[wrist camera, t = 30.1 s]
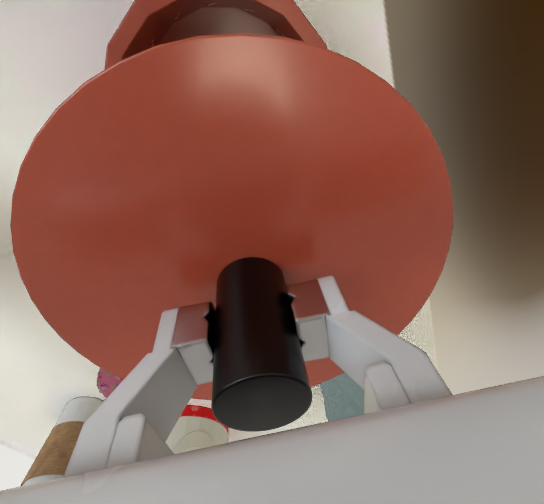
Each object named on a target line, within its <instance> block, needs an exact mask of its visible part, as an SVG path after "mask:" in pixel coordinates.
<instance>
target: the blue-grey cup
mask: <svg viewBox="0 0 544 504" xmlns="http://www.w3.org/2000/svg"><path fill="white" fill-rule="evenodd" d="M321 388H322V394H323V397H324V405H325V411H326V418H327V419H328V422H329V421H333V420H338V419H343V418H348V417H352V416H357V415H362V414H364V395H365V390H364V389H363V388H362V387H360V386H359V385H358V384H357V383H356V382H355V381H354V380H353V379H352V378H351V377H350V376H348V375H347V374H346V373H343V374H341V375H339V376H336V377H334V378H332V379H330V380H328V381H325V382H322V383H321Z"/></svg>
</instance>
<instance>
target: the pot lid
mask: <svg viewBox="0 0 544 504" xmlns="http://www.w3.org/2000/svg"><path fill="white" fill-rule="evenodd" d="M10 225H11V234H12V243H13V252H14V256H15V259H16V262H17V266H18V269H19V273H20V276H21V279H22V281H23V283H24V285H25V287H26V289H27V291H28V293H29V295H30V297H31V300H32V301H33V303H34V304H35V305H36V307H37V308H38V310H39V311H40V313H41V314H42V316H43V317H44V319H45V320H46V321H47V322H48V324H49V325H50V326H51V327H52V328H53V329H54V330H55V331H56V332H57V334H58V335H59V336H60V337H61V338H62V339H63V340H64V341H66V342H67V343H68V344H69V345H70V346H71V347H72V348H74V349H75V350H76V351H77V352H78V353H80V354H81V355H83V356H84V357H85V358H87V359H88V360H90V361H91V362H93V363H94V364H95V365H97V366H99V367H101V368H102V369H104V370H106V371H108V372H110V373H112V374H113V375H115V376H117V377H120V378H122V379H125V378H126V377H127V375H128V374H129V373H130V372H131V371H132V370H133V369H134V368H135V367H136V366H137V364H138V363H139V362H140V361H141V360H142V359H143V358H144V357H145V356H146V355H147V354H148V353H152V351H153V347H154V343H155V339H156V335H157V331H158V327H159V323H160V319H161V315H162V313H163V312H164V310H169V309H174V308H180V307H183V306H188V305H194V304H199V303H205V302H210V301H211V302H212V303H213V305H214V307H215V310H216V311H215V334H214V358H213V381H212V382H208V383H204V384H200V385H196V386H197V388H196V390H195V391H194V393H193V395H192V397H191V398H193V399H204V400H212V405H211V406H212V412H213V415H214V416H215V418H216V419H217V420H218V421H219V422H220V423H221V424H223V425H225V426H227V427H229V428H232V429H236V430H241V431H265V430H271V429H275V428H279V427H282V426H285V425H287V424H289V423H291V422H293V421H295V420H297V419H298V418H300V417H301V416H302V415H303V414H304V413H305V412H306V411H307V410H308V408H309V407H310V405H311V402H312V391H311V387H312V386H315V385H317V384H320V383H322V382H325V381H328V380H330V379H332V378H334V377H336V376H339V375H341V374H343V373H345V372H344V371H343V370H342V369H341V368H340V367H339V366H338V365H337V364H335V363H334V362H333V361H332V360H331V359H330V357H328V358H323V359H317V360H312V361H306V362H304V358H303V354H302V349H301V345H300V341H299V338H298V336H297V332H296V328H295V324H294V319H293V314H292V310H291V307H290V303H289V298H288V294H287V288H286V285H291V284H295V283H300V282H305V281H309V280H314V279H317V278H321V277H326V276H330V275H332V276H333V277H334V278H335V280H336V283H337V285H338V287H339V289H340V291H341V293H342V296H343V298H344V300H345V302H346V304H347V306H348V309H349V311H352V310H355V311H357V312H358V313H360V314H362V315H364V316H365V317H367V318H369V319H370V320H372V321H374V322H375V323H377V324H379V325H380V326H382V327H384V328H385V329H387V330H389V331H391V332H392V333H394V334H396V335H398V334H399V333H400V332H401V331H402V330H403V329H404V328H405V327H406V326H407V325H408V324H409V323H410V322H411V321H412V319H413V318H414V317H415V316H416V314H417V313H418V312H419V311H420V309H421V308H422V307H423V305H424V304H425V302H426V300H427V299H428V297H429V296H430V294H431V292H432V291H433V289H434V287H435V285H436V283H437V281H438V279H439V276H440V274H441V272H442V270H443V267H444V264H445V261H446V258H447V254H448V251H449V247H450V241H451V236H452V229H453V197H452V190H451V183H450V177H449V174H448V171H447V168H446V165H445V162H444V159H443V155H442V153H441V151H440V149H439V147H438V145H437V143H436V141H435V139H434V137H433V135H432V133H431V131H430V129H429V128H428V126H427V125H426V124H425V122H424V121H423V120H422V118H421V117H420V116H419V115H418V113H417V112H416V111H415V109H414V108H413V107H412V105H411V104H410V103H409V102H408V101H407V100H406V99H405V98H404V97H403V96H401V95H400V94H399V93H398V92H397V91H396V90H395V89H394V88H393V87H392V86H391V85H390V84H389V83H387V82H386V81H385V80H383V79H382V78H380V77H379V76H377V75H376V74H374V73H373V72H371V71H370V70H368V69H367V68H365V67H364V66H362V65H361V64H359V63H357V62H356V61H353V60H351V59H349V58H347V57H344V56H342V55H340V54H337V53H335V52H333V51H331V50H328V49H326V48H324V47H321V46H318V45H314V44H310V43H306V42H302V41H298V40H294V39H290V38H286V37H282V36H272V35H261V34H250V33H229V34H214V35H200V36H194V37H190V38H186V39H181V40H177V41H173V42H169V43H164V44H160V45H156V46H154V47H151V48H149V49H146V50H144V51H142V52H139V53H137V54H134V55H132V56H130V57H127V58H125V59H122V60H120V61H118V62H116V63H115V64H113V65H111V66H110V67H108V68H107V69H105V70H104V71H102V72H100V73H99V74H97V75H96V76H94V77H93V78H91V79H89V80H88V81H86V82H85V83H83V84H82V85H81V86H80V87H79V88H78V89H77V90H76V91H75V92H74V93H72V94H71V95H70V96H69V97H68V98H67V99H66V100H65V101H64V102H63V103H62V104H60V105H59V106H58V107H57V108H56V109H55V111H54V112H53V113H52V115H51V116H50V117H49V119H48V120H47V121H46V123H45V124H44V125H43V127H42V128H41V129H40V131H39V132H38V133H37V135H36V136H35V138H34V140H33V142H32V144H31V146H30V148H29V150H28V152H27V154H26V156H25V158H24V160H23V162H22V164H21V167H20V170H19V174H18V178H17V181H16V185H15V189H14V193H13V198H12V211H11V224H10Z"/></svg>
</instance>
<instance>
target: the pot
mask: <svg viewBox="0 0 544 504" xmlns="http://www.w3.org/2000/svg"><path fill="white" fill-rule="evenodd" d="M229 33H250V34H261V35H272V36H282V37H286V38H290V39H294V40H298V41H302V42H306V43H310V44H314V45H318V46H321V47H324V48H326V49H327V46H326V44H325V42H324V41H323V40H322V38H321V37H320V36H319V34H318V33H317V32H316V30H315V29H314V28H313V26H312V25H311V24H310V22H309V21H308V19H307V18H306V17H305V15H304V14H303V13H302V11H301V10H300V9H299V7H298V6H297V5H296V3H295V2H294V1H293V0H135V1H134V2H133V4H132V6H131V7H130V9H129V11H128V12H127V14H126V16H125V17H124V19H123V20H122V22H121V24H120V25H119V27H118V29H117V30H116V32H115V33H114V35H113V37H112V38H111V40H110V42H109V43H108V45H107V46H108V47H107V51H106V60H105V69H107V68H108V67H110V66H111V65H113V64H115V63H116V62H118V61H120V60H122V59H125V58H127V57H130V56H132V55H134V54H137V53H139V52H142V51H144V50H146V49H149V48H151V47H154V46H156V45H160V44H164V43H169V42H173V41H177V40H181V39H186V38H190V37H194V36H200V35H214V34H229Z"/></svg>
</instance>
